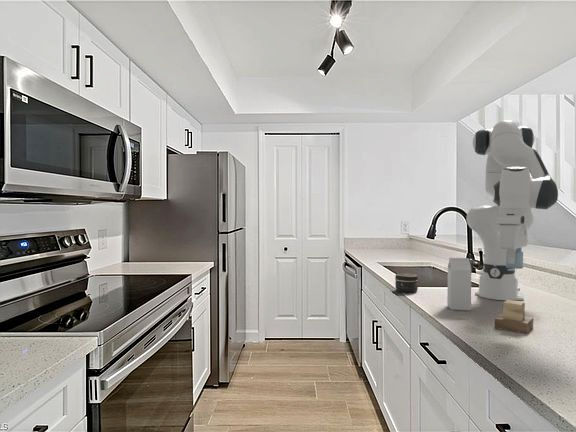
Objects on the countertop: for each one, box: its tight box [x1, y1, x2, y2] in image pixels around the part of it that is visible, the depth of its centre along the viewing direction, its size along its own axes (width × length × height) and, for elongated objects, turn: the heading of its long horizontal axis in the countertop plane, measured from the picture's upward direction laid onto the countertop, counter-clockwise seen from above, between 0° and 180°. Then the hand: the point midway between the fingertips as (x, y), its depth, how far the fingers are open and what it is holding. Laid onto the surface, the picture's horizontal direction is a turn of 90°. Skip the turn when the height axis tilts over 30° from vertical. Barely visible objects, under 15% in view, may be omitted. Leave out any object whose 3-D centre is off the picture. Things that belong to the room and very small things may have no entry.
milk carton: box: [446, 257, 472, 311], centre depth 159 cm, size 7×7×19 cm
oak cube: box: [502, 300, 526, 321], centre depth 132 cm, size 5×5×5 cm
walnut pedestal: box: [494, 313, 534, 334], centre depth 132 cm, size 9×9×3 cm
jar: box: [394, 273, 419, 294], centre depth 192 cm, size 10×10×8 cm
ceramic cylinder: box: [506, 251, 524, 270], centre depth 132 cm, size 5×5×5 cm
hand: (514, 262), depth 132 cm, fingers closed on ceramic cylinder, 5 cm apart
